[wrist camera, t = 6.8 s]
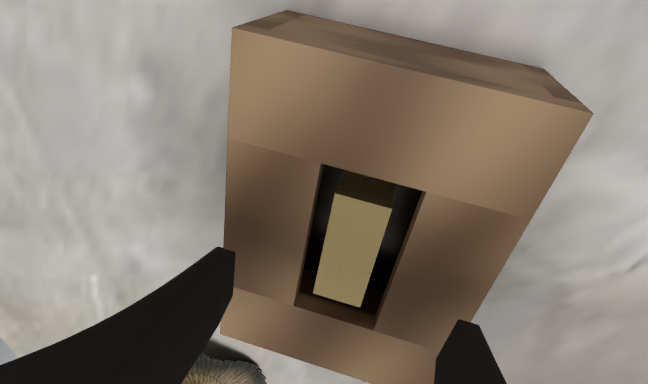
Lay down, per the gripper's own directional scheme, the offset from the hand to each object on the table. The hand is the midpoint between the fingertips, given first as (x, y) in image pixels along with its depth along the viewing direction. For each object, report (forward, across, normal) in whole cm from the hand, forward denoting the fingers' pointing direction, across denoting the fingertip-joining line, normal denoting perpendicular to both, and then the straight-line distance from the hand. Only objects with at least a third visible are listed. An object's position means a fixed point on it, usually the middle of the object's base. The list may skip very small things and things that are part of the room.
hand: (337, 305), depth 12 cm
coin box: (+7, 0, 0) cm, 7 cm away
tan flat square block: (+8, 0, 0) cm, 8 cm away
